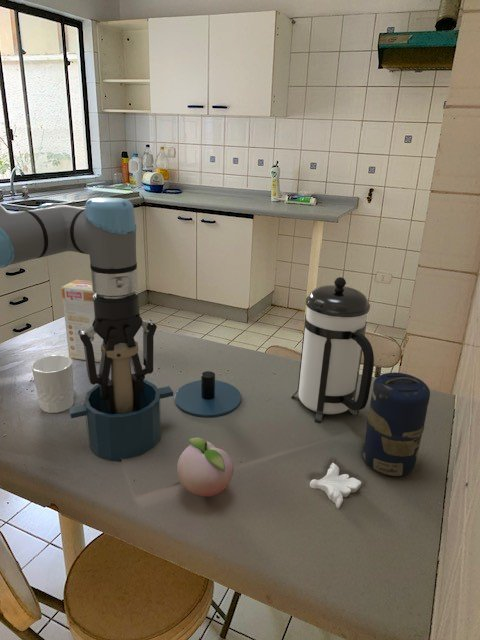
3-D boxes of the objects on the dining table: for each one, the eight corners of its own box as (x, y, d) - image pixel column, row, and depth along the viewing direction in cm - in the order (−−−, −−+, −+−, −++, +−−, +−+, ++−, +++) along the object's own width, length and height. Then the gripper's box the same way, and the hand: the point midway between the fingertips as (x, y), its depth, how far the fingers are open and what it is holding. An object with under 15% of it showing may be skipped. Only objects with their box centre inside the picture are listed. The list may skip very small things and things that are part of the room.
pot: (68, 430, 91) (63, 388, 88) (161, 409, 100) (160, 370, 96) (80, 473, 80) (75, 427, 77) (183, 445, 88) (183, 402, 85)
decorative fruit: (166, 492, 77) (164, 442, 73) (201, 468, 83) (201, 420, 79) (206, 522, 71) (207, 470, 67) (241, 494, 77) (243, 444, 73)
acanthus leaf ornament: (331, 467, 84) (333, 459, 84) (364, 488, 80) (365, 479, 79) (305, 486, 79) (306, 477, 79) (338, 509, 75) (340, 500, 74)
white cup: (41, 419, 95) (35, 375, 91) (34, 400, 101) (28, 359, 97) (81, 408, 99) (76, 367, 95) (71, 391, 105) (67, 352, 101)
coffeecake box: (133, 354, 123) (130, 284, 116) (121, 366, 117) (116, 293, 109) (82, 347, 126) (76, 278, 119) (68, 358, 120) (60, 286, 112)
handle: (107, 410, 90) (102, 340, 84) (141, 408, 91) (138, 339, 85) (105, 425, 85) (99, 351, 80) (140, 423, 86) (137, 350, 81)
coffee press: (279, 416, 99) (290, 282, 87) (303, 383, 112) (315, 263, 101) (360, 440, 92) (384, 298, 81) (375, 402, 105) (397, 276, 94)
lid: (165, 391, 106) (164, 365, 104) (223, 379, 113) (224, 354, 110) (188, 426, 94) (188, 398, 92) (252, 410, 101) (254, 383, 98)
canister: (418, 484, 81) (438, 395, 74) (362, 476, 82) (378, 388, 76) (409, 450, 90) (427, 368, 83) (359, 443, 91) (372, 362, 84)
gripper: (66, 305, 72) (80, 431, 81) (171, 293, 79) (173, 409, 88) (59, 291, 78) (73, 409, 87) (157, 280, 85) (160, 390, 94)
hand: (123, 409), depth 87 cm, fingers closed on handle, 4 cm apart
